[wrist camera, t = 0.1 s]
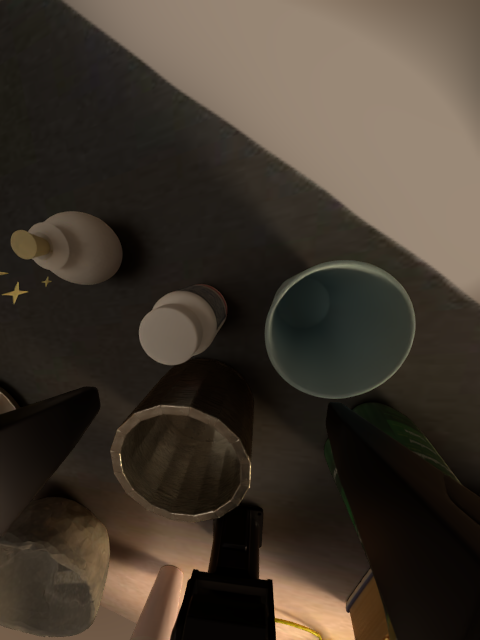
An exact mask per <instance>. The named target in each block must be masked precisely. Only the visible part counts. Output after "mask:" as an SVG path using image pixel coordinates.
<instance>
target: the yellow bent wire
mask: <svg viewBox="0 0 480 640" xmlns="http://www.w3.org/2000/svg"><path fill="white" fill-rule="evenodd" d="M275 622H277V623H282V624H286V625H290V626H294V627H296V628H299V629H302V630H305V631H308V632H310V633H312V634H314V635H316V636H317V637H318V638H319V640H322V638H321V636H320V634H319V633H317V632H315V631H314V630H312V629H310V628H307V627H305V626H302V625H299V624H296V623H294V622H290V621H286V620H282V619H277V618H275Z"/></svg>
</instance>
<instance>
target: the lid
mask: <svg viewBox="0 0 480 640" xmlns="http://www.w3.org/2000/svg"><path fill="white" fill-rule="evenodd" d="M18 408H20V406H19V405H18V404H17V402H16V401H15V400H14V398H13V397H12V396H11V395H10V394H9V393H8V392H6V391H5V390H4V389H3V388H1V387H0V414H3V413H6V412H9V411H12V410H15V409H18Z"/></svg>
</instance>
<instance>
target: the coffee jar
mask: <svg viewBox="0 0 480 640" xmlns="http://www.w3.org/2000/svg"><path fill="white" fill-rule="evenodd" d="M352 411H354V412H355V413H357V414H358V415H360V416H361V417H363V418H364V419H366V420H367V421H368V422H370V423H371V424H373V425H374V426H376V427H377V428H379V429H380V430H382V431H383V432H385V433H386V434H388V435H389V436H391V437H392V438H394V439H395V440H396V441H398V442H399V443H401V444H402V445H404V446H405V447H407V448H408V449H410V450H411V451H413V452H414V453H416V454H417V455H419V456H420V457H422V458H423V459H424V460H426V461H427V462H429V463H430V464H432V465H433V466H435V467H436V468H438V469H439V470H441V471H442V472H443V475H444V474H447V475H448V476H450V477H451V478H453V479H454V480H455V481H457V482H458V483H460V481H459V480H458V479H457V477H456V476H455V475H454V474H453V472H452V471H451V470H450V468H449V467H448V466H447V464H446V463H445V462H444V460H443V459H442V458H441V456H440V455H439V454H438V452H437V451H436V449H435V448H434V447H433V446H432V444H431V443H430V442H429V440H428V439H427V438H426V437H425V435H424V434H423V433H422V432H421V431H420V429H419V428H418V427H417V426H416V425H415V424H414V423H413V422H412V421H411V420H410V419H409V418H408V417H407V416H405V415H403V414H402V413H400V412H399V411H397V410H395V409H393V408H391V407H389V406H386V405H384V404H380V403H363V404H360V405H358V406H356V407H355V408H354V409H353V410H352ZM324 455H325V458H326V461H327V464H328V467H329V469H330V472H331V475H332V477H333V479H334V482H335V484H336V486H337V488H338V490H339V492H340V495H341V497H342V499H343V501H344V504H345V506H346V508H347V511H348V513H349V515H350V518H351V520H352V522H353V525H354V527H355V530H356V532H357V535H358V537H359V540H360V542H361V545H362V547H363V549H364V546H363V543H362V540H361V537H360V535H359V532H358V529H357V526H356V523H355V521H354V518H353V515H352V512H351V509H350V507H349V504H348V501H347V498H346V495H345V493H344V490H343V487H342V484H341V481H340V479H339V476H338V473H337V469H336V465H335V461H334V457H333V453H332V449H331V445H330V441H329V438H328V439H327V441H326V443H325V446H324ZM460 484H461V483H460ZM461 485H462V484H461ZM364 552H365V554H366V551H365V549H364ZM366 557H367V554H366ZM367 559H368V557H367ZM368 562H369V560H368ZM369 565H370V563H369ZM370 568H371V565H370ZM371 570H372V568H371ZM372 573H373V571H372ZM373 576H374V574H373ZM374 579H375V577H374ZM375 581H376V579H375ZM376 584H377V582H376ZM377 588H378V585H377ZM378 591H379V594H380V597H381V600H382V604H383V608H384V612H385V616H386V621H387V626H388V633H389V640H397V638H396V635H395V632H394V630H393V627H392V624H391V621H390V618H389V616H388V613H387V610H386V607H385V604H384V602H383V599H382V596H381V593H380V590H379V588H378Z"/></svg>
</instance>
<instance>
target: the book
mask: <svg viewBox="0 0 480 640" xmlns="http://www.w3.org/2000/svg"><path fill="white" fill-rule="evenodd" d="M346 611H347V612H348V613H349V612H350V616H351V619H352V625H353V630H354V635H355V640H389V633H388V626H387V621H386V616H385V612H384V608H383V604H382V600H381V597H380V594H379V591H378V588H377V584H376V581H375V579H374V576H373V573H372V570H371V568H370V570H369V571H368V573H367V574H366V575H365V576H364V578H363V579H362V581H361V583H360V584H359V585H358V586H357V588H356V589H355V591H354V592H353V594H352V595H351V596H350V598H349V600H348V601H347V603H346Z"/></svg>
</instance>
